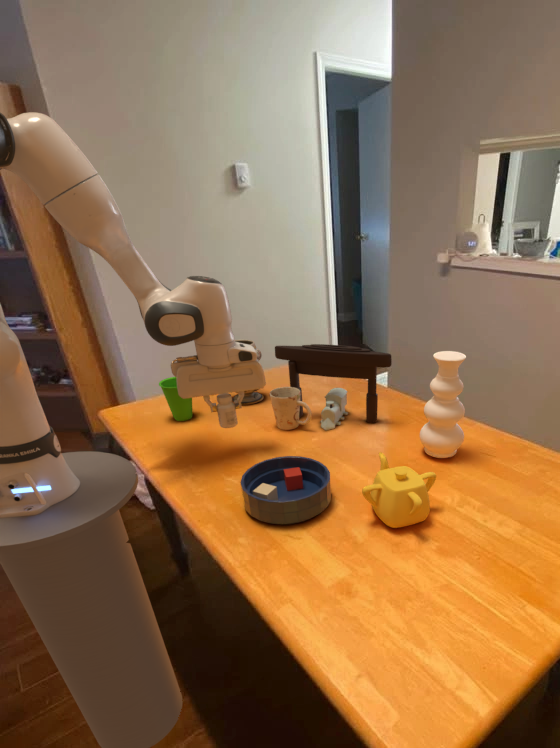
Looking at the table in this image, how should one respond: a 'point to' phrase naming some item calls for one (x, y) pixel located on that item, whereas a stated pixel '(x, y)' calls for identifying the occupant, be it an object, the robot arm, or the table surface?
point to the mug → (288, 407)
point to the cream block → (266, 492)
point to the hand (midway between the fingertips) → (226, 409)
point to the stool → (335, 374)
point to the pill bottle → (226, 411)
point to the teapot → (399, 494)
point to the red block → (293, 478)
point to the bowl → (289, 503)
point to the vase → (444, 408)
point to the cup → (176, 400)
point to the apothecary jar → (250, 395)
